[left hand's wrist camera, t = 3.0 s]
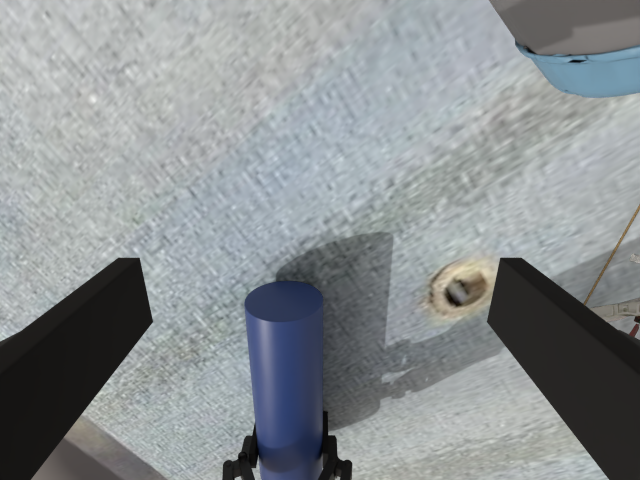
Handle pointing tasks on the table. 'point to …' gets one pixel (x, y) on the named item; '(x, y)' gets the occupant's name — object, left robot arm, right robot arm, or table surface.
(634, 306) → the bow
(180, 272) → the table surface
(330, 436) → the right robot arm
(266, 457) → the rod
